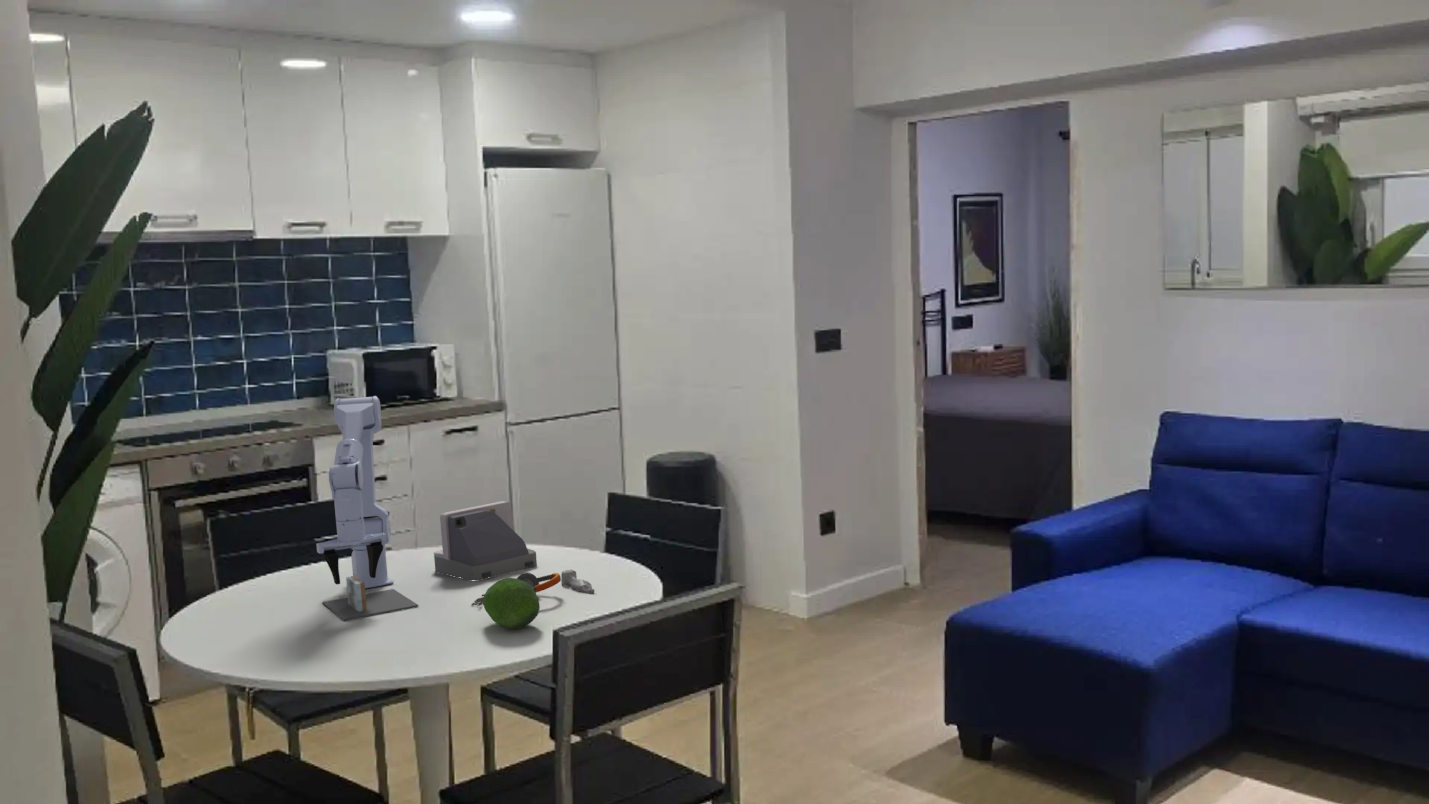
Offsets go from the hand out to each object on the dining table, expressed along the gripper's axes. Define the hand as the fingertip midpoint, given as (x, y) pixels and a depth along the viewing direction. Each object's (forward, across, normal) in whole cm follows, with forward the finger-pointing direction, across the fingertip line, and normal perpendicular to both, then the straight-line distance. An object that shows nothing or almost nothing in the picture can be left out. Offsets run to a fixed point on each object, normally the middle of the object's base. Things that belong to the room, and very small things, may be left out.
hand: (355, 580), depth 269 cm
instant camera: (+7, +36, +15) cm, 39 cm away
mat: (+6, +3, +1) cm, 7 cm away
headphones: (+7, +30, -18) cm, 35 cm away
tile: (+6, 0, 0) cm, 6 cm away
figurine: (+7, +44, -19) cm, 49 cm away
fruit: (+6, +21, -36) cm, 42 cm away
